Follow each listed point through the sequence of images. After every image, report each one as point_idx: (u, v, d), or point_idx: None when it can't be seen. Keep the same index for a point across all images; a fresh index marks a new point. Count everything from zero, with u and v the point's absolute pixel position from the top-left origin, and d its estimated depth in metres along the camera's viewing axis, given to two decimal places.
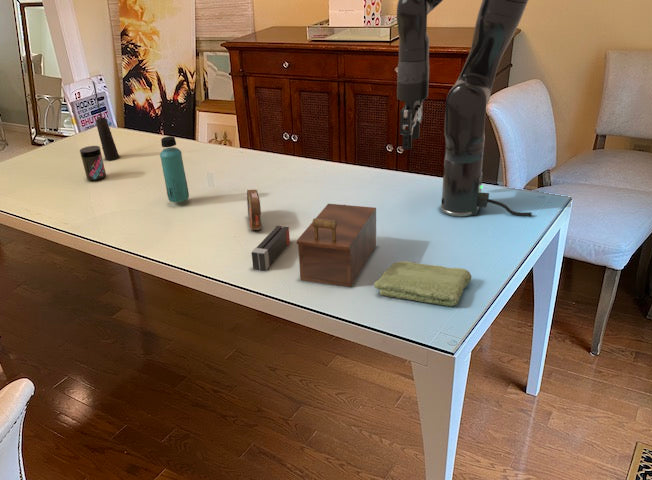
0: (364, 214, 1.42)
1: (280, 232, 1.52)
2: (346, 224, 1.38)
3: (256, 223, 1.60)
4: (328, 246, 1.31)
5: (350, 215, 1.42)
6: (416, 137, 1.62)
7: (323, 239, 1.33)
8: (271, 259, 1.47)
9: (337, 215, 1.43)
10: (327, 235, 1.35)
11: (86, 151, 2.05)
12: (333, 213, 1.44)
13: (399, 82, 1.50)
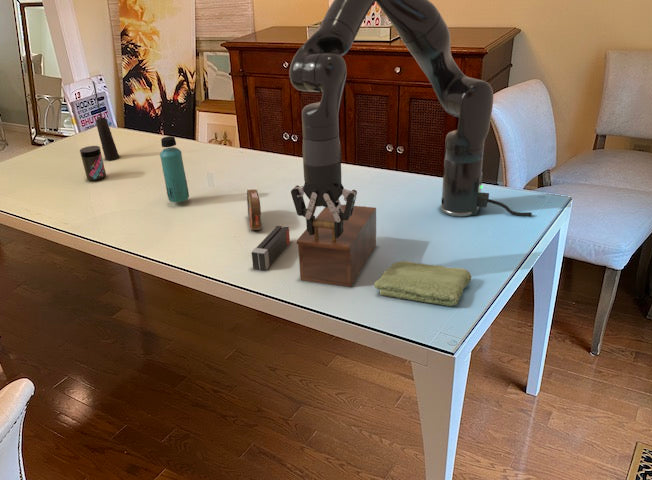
0: (364, 214, 1.42)
1: (280, 232, 1.52)
2: (346, 224, 1.38)
3: (256, 223, 1.60)
4: (328, 246, 1.31)
5: (350, 216, 1.42)
6: None
7: (323, 239, 1.33)
8: (271, 259, 1.47)
9: None
10: (327, 235, 1.35)
11: (86, 151, 2.05)
12: None
13: None
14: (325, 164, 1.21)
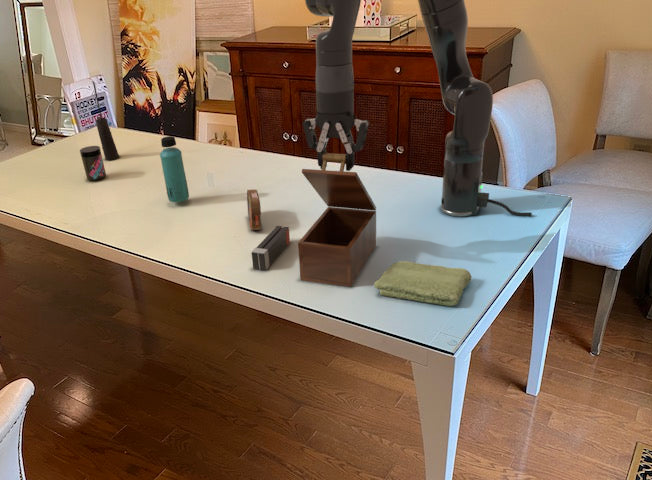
0: None
1: (280, 232, 1.52)
2: None
3: (256, 223, 1.60)
4: (335, 172, 1.28)
5: None
6: None
7: None
8: (271, 259, 1.47)
9: None
10: None
11: (86, 151, 2.05)
12: None
13: None
14: (338, 91, 1.21)
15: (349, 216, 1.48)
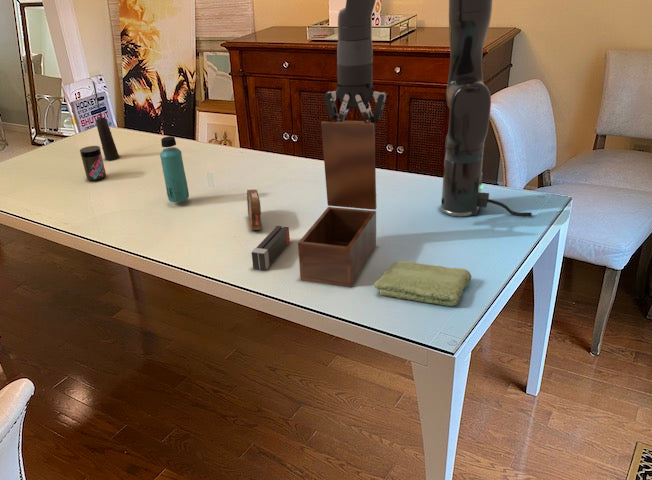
0: None
1: (280, 232, 1.52)
2: None
3: (256, 223, 1.60)
4: (353, 123, 1.34)
5: None
6: None
7: None
8: (271, 259, 1.47)
9: None
10: None
11: (86, 151, 2.05)
12: None
13: None
14: (359, 64, 1.30)
15: (349, 216, 1.48)
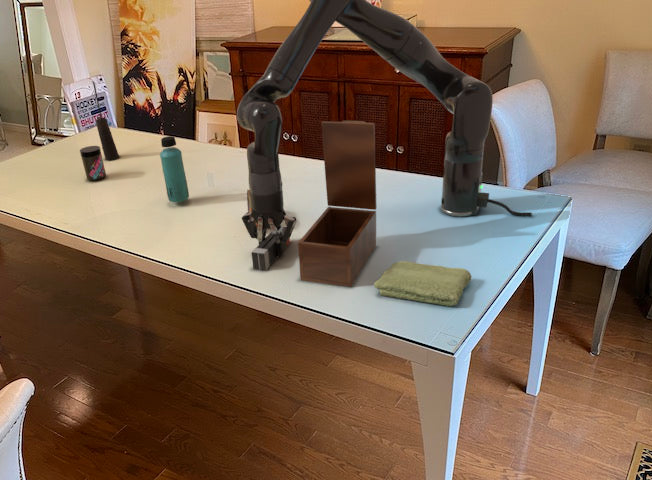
0: None
1: None
2: None
3: (256, 223, 1.60)
4: (353, 122, 1.34)
5: None
6: None
7: None
8: (271, 259, 1.47)
9: None
10: None
11: (86, 151, 2.05)
12: None
13: None
14: (267, 194, 1.39)
15: (349, 216, 1.48)
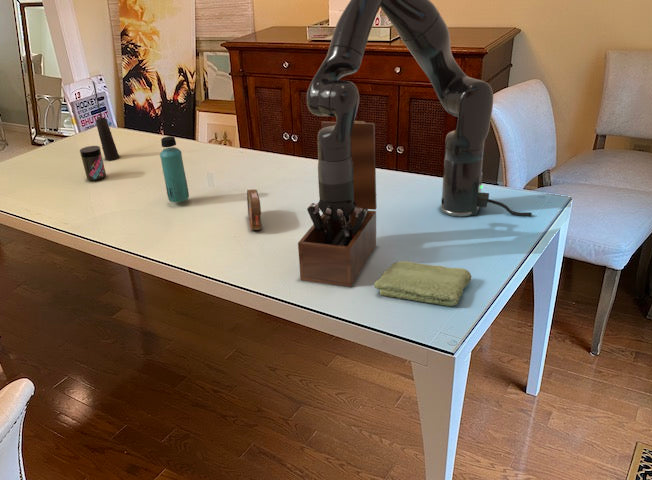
0: None
1: None
2: None
3: (256, 223, 1.60)
4: None
5: None
6: None
7: None
8: None
9: None
10: None
11: (86, 151, 2.05)
12: None
13: None
14: (339, 183, 1.30)
15: None
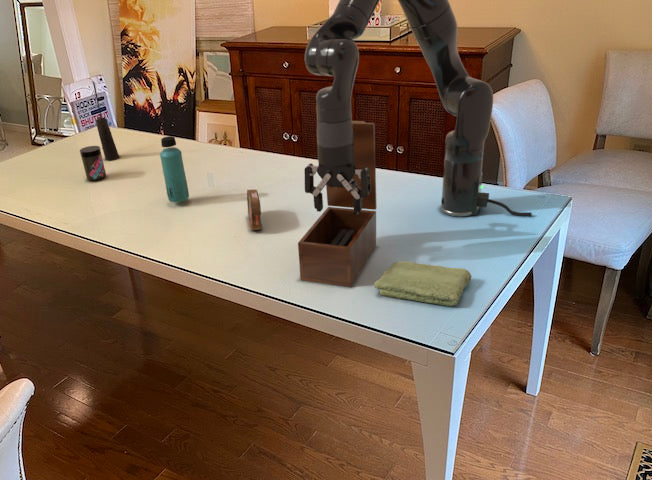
0: None
1: (347, 236, 1.44)
2: None
3: (256, 223, 1.60)
4: (353, 122, 1.34)
5: None
6: None
7: None
8: None
9: None
10: None
11: (86, 151, 2.05)
12: None
13: None
14: (339, 145, 1.26)
15: (349, 216, 1.48)
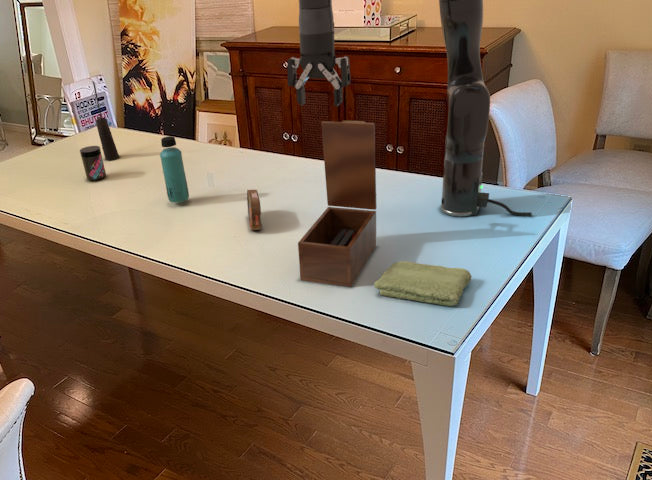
0: None
1: (347, 236, 1.44)
2: None
3: (256, 223, 1.60)
4: (353, 122, 1.34)
5: None
6: None
7: None
8: None
9: None
10: None
11: (86, 151, 2.05)
12: None
13: None
14: (319, 32, 1.32)
15: (349, 216, 1.48)
